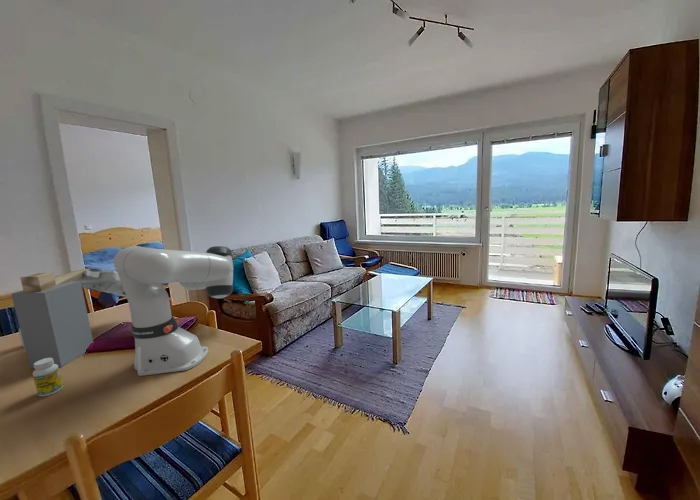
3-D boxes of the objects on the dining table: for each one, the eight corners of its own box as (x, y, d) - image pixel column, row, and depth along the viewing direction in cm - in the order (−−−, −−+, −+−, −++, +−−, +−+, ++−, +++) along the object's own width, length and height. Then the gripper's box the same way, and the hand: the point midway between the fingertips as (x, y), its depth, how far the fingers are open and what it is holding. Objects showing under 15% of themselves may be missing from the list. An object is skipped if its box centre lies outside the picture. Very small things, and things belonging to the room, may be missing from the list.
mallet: (94, 274, 120) (92, 262, 119) (41, 291, 99) (38, 276, 99) (80, 275, 120) (77, 262, 119) (23, 291, 100) (20, 277, 99)
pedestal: (94, 347, 115) (80, 281, 111) (61, 366, 103) (44, 292, 98) (66, 348, 116) (51, 282, 111) (29, 367, 103) (11, 293, 98)
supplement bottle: (65, 383, 93) (58, 354, 91) (61, 392, 89) (54, 362, 87) (40, 390, 90) (33, 360, 89) (35, 399, 86) (27, 368, 84)
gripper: (130, 288, 128) (103, 280, 115) (82, 289, 128) (50, 281, 115) (133, 273, 130) (107, 263, 117) (86, 274, 131) (55, 265, 118)
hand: (79, 272), depth 116 cm, fingers closed on mallet, 3 cm apart
